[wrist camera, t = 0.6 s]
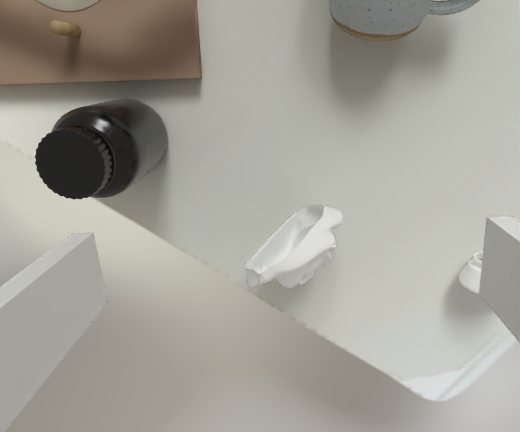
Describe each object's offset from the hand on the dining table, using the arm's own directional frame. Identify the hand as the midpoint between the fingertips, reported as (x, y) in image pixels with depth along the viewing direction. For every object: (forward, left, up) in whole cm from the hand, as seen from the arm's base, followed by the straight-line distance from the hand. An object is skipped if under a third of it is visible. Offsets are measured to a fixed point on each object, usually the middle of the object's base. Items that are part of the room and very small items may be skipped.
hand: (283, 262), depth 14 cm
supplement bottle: (-1, -14, -26) cm, 29 cm away
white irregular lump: (+12, +18, -26) cm, 33 cm away
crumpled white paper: (+9, +1, -26) cm, 27 cm away
